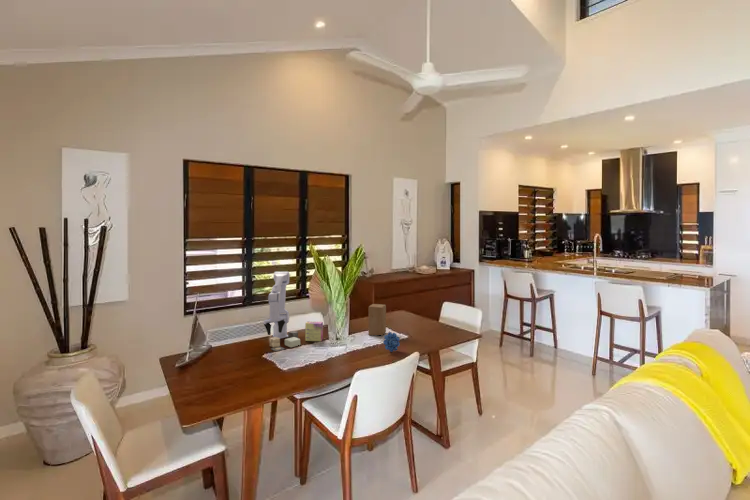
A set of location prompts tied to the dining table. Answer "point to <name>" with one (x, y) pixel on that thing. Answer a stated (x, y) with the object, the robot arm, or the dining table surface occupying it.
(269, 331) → the robot arm
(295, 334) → the gray block
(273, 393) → the dining table surface
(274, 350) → the tile
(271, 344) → the birch block
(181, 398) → the dining table surface
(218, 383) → the dining table surface
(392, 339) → the grapes
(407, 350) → the dining table surface
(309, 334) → the box
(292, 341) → the grey-green pedestal
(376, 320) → the wooden block
